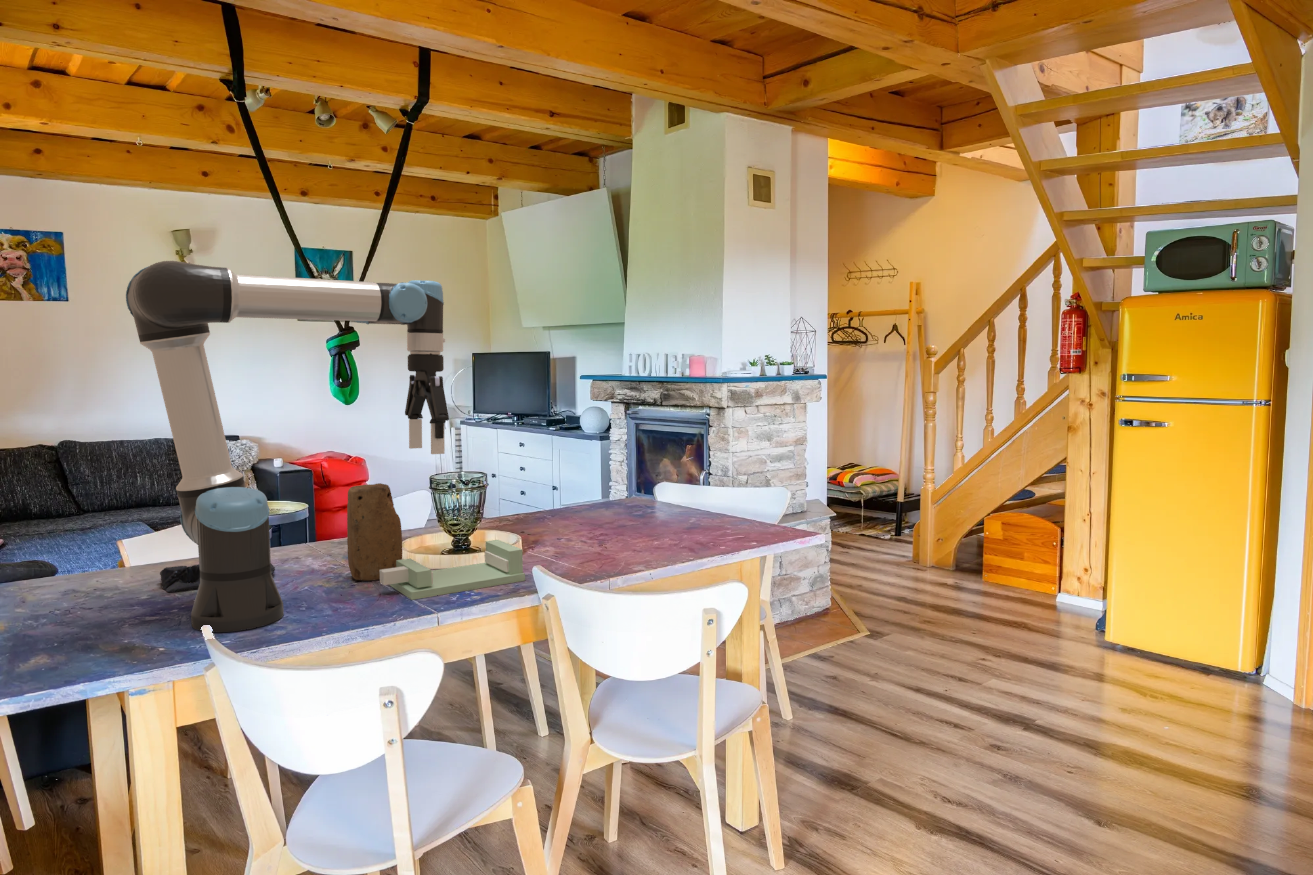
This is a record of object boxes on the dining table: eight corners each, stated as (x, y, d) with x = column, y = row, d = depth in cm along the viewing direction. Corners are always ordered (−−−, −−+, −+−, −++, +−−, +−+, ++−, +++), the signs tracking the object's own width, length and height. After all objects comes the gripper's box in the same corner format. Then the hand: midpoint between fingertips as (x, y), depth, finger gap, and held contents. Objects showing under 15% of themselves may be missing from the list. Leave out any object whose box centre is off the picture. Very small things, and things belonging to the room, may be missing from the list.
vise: (411, 599, 172) (410, 567, 171) (388, 584, 183) (387, 553, 183) (525, 580, 186) (524, 550, 185) (496, 567, 197) (496, 538, 197)
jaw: (391, 592, 171) (391, 575, 170) (372, 579, 180) (372, 563, 180) (434, 585, 176) (433, 569, 175) (413, 572, 185) (412, 557, 185)
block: (352, 583, 184) (348, 489, 182) (347, 575, 191) (343, 484, 189) (405, 577, 189) (402, 485, 187) (398, 569, 196) (395, 480, 194)
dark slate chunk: (279, 582, 188) (278, 560, 187) (160, 596, 177) (159, 573, 176) (271, 566, 201) (270, 546, 200) (160, 579, 190) (159, 558, 190)
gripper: (464, 353, 183) (464, 455, 184) (422, 353, 203) (423, 445, 205) (429, 353, 178) (430, 457, 180) (389, 353, 199) (390, 446, 201)
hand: (426, 451), depth 192 cm, fingers open, 13 cm apart
